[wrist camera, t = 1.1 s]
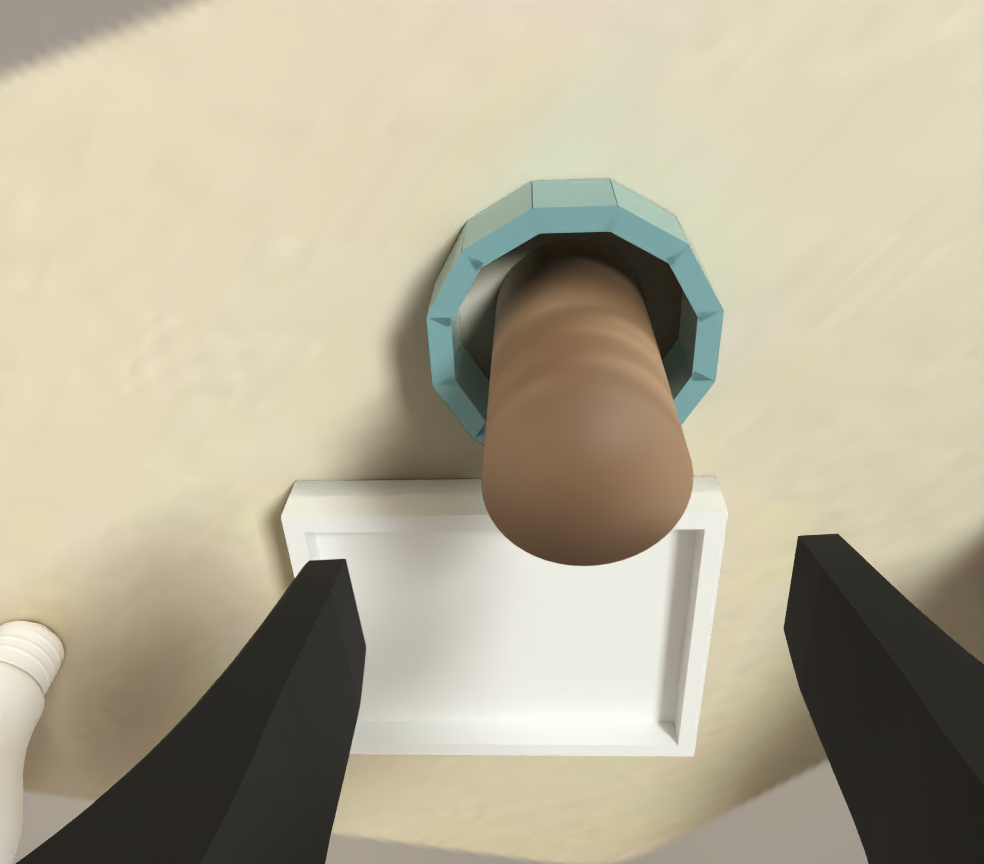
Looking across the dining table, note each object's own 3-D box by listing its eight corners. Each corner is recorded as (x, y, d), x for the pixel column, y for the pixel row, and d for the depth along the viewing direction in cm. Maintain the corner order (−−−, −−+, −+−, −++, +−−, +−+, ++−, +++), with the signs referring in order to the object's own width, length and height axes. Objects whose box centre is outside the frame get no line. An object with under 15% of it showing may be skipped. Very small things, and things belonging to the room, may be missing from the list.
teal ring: (717, 174, 20) (736, 201, 18) (691, 423, 24) (705, 466, 22) (426, 184, 21) (416, 211, 19) (446, 427, 25) (439, 470, 23)
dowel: (648, 239, 21) (703, 392, 14) (639, 376, 23) (684, 565, 17) (492, 243, 21) (475, 397, 15) (498, 378, 24) (486, 566, 17)
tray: (716, 476, 25) (728, 512, 24) (685, 714, 31) (694, 756, 29) (295, 480, 26) (280, 516, 24) (343, 713, 32) (334, 754, 30)
